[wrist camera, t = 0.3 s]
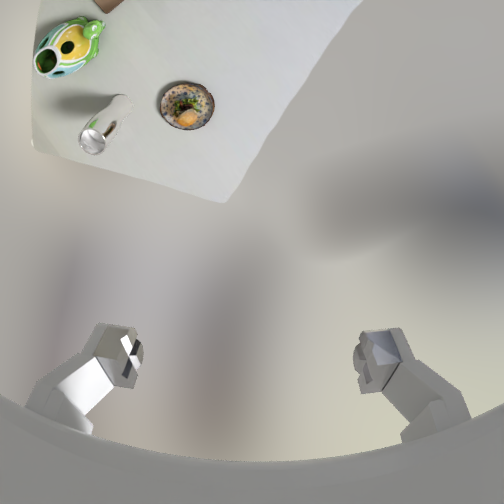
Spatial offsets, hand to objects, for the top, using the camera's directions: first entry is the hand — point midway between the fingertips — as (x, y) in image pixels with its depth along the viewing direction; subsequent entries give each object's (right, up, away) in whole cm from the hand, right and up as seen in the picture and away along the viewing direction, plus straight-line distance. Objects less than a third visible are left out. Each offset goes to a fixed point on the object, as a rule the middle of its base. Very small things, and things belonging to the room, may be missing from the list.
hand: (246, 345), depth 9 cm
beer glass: (-29, +37, +42) cm, 63 cm away
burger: (-14, +35, +44) cm, 58 cm away
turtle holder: (-35, +48, +26) cm, 65 cm away
